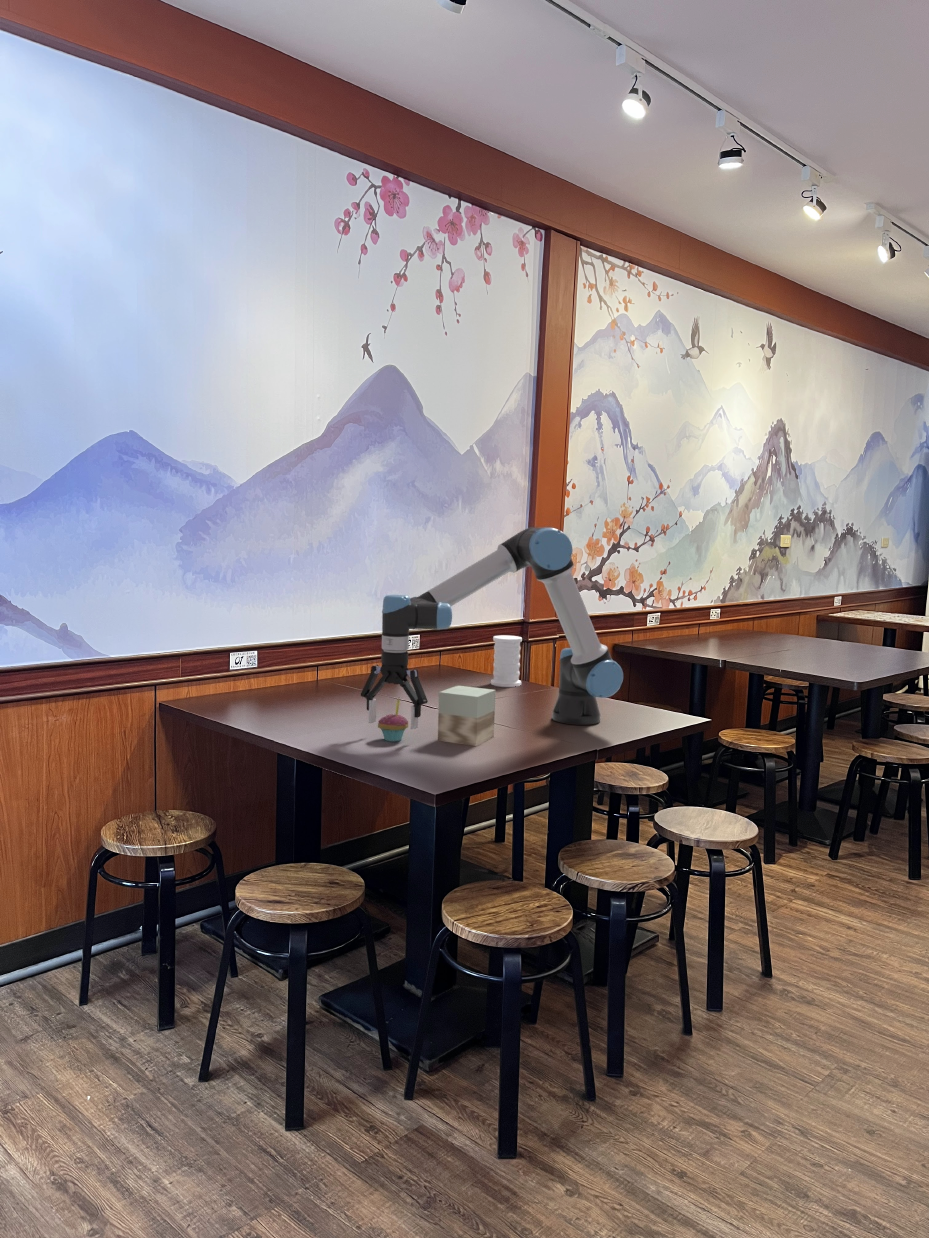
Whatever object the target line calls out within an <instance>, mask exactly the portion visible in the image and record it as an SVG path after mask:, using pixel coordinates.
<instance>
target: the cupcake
mask: <svg viewBox="0 0 929 1238" xmlns="http://www.w3.org/2000/svg"><path fill="white" fill-rule="evenodd" d="M400 702H401V701H400V697H398V699H397V700H396V708H395V713H394V714H392V713H391V714H386V715H385V716H383V717H381V718H380V719H379V720H378V724H377V727H378V728H379V729H380V730H381V732H382V734H383V738H384V740H385V741H386V742H399V741H402V738H403V736H404V734H405V731H406V729H407V728H408V727H409V721H408V719H407V718H405V717H404V716H402V715H401V714H399V707H400Z"/></svg>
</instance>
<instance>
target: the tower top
mask: <svg viewBox="0 0 929 1238" xmlns="http://www.w3.org/2000/svg"><path fill="white" fill-rule="evenodd" d="M493 711H495V712H496V689H490V688H484V687H483V688H481V687H473V686H463V685H455V686H452V687H449V688H447V689H444V690H442V691H439V692H438V713H442V714H449V715H457V716H464V717H471V718H479V717H481V716H483V715H486V714H488V713H490V712H493Z"/></svg>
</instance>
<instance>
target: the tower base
mask: <svg viewBox="0 0 929 1238" xmlns="http://www.w3.org/2000/svg"><path fill="white" fill-rule="evenodd" d="M495 712H496V710H495V711H493V712H490V713H488V714H486V715H483V716H481V717H479V718H471V717H464V716H457V715H449V714H442V713H439V712H438V716H437V741H440V742H446V743H453V744H462V745H466V746H475V747H477V746H479V745H482V744H483V743H485V742H487V741H489V740H491V739H493V738H495V714H496V713H495Z"/></svg>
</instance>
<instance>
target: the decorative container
mask: <svg viewBox="0 0 929 1238" xmlns="http://www.w3.org/2000/svg"><path fill="white" fill-rule="evenodd" d="M492 637H493V638H492V640H493V642H494V645H493V650H494V654H493V659H494V661H493V665H492V666H493V671H492V674H493V679H491V680H490V685H492V686H495V687H501V688H514V687H515V686H516V687H520V685H521V686H522V680H519V678H520V675H521V673H520V667H521V664H520V660H521V654H520V652H521V649H522V647H521V643H522V641H523V638H522V637H521V636H516V635H503V634H502V635H494V636H492ZM516 687H515V688H516Z"/></svg>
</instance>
